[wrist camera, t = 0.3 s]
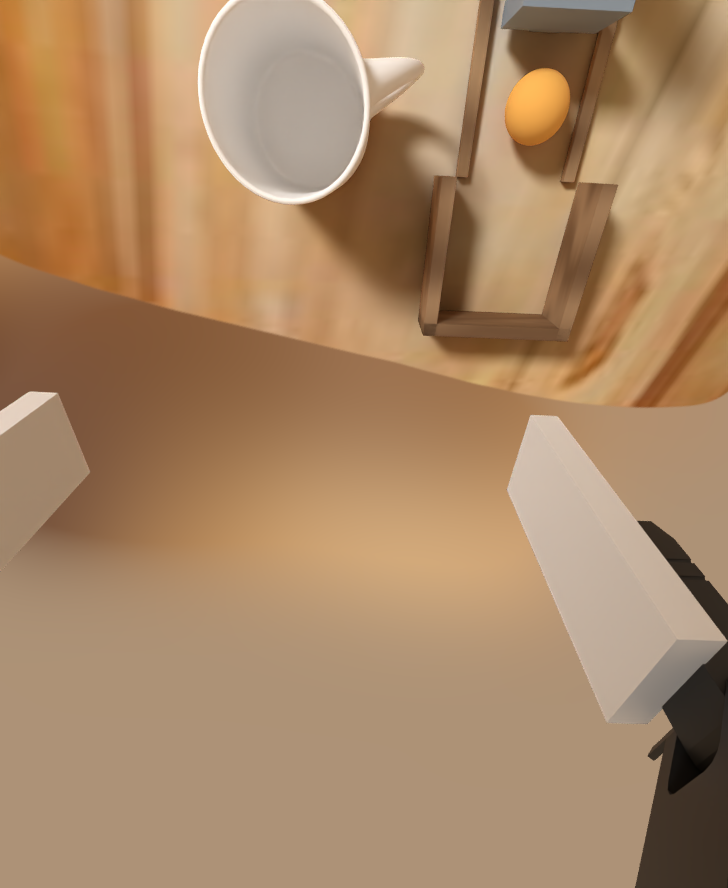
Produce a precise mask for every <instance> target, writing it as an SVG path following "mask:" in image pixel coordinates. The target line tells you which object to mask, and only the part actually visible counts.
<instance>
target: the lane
mask: <svg viewBox="0 0 728 888" xmlns="http://www.w3.org/2000/svg"><path fill="white" fill-rule="evenodd" d="M493 6H494V0H480V2H479V9H478V16H477V24H476V31H475V38H474V46H473V53H472V60H471V68H470V75H469V82H468V89H467V97H466V104H465V111H464V119H463V126H462V133H461V141H460V148H459V155H458V163H457V170H456V177H468V172H469V165H470V159H471V152H472V145H473V139H474V132H475V125H476V119H477V112H478V106H479V99H480V92H481V86H482V79H483V72H484V66H485V59H486V52H487V46H488V39H489V32H490V26H491V19H492V13H493ZM617 23H618V21H616V22H614V23H613V24H611V25H609V26H607V27H606V28H604V29H602V30H601V31H599V33H598V37H597V41H596V45H595V49H594V53H593V57H592V60H591V64H590V68H589V72H588V76H587V80H586V84H585V88H584V92H583V95H582V99H581V103H580V107H579V111H578V115H577V119H576V123H575V127H574V130H573V134H572V138H571V142H570V146H569V150H568V154H567V158H566V162H565V166H564V169H563V173H562V177H561V181H560V182H574V181H575V177H576V173H577V170H578V166H579V162H580V159H581V155H582V151H583V148H584V144H585V140H586V137H587V133H588V129H589V126H590V122H591V118H592V115H593V111H594V107H595V104H596V100H597V96H598V93H599V89H600V85H601V82H602V78H603V74H604V71H605V67H606V63H607V60H608V56H609V52H610V49H611V45H612V41H613V38H614V34H615V30H616V27H617Z"/></svg>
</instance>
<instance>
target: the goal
mask: <svg viewBox="0 0 728 888" xmlns="http://www.w3.org/2000/svg"><path fill="white" fill-rule="evenodd" d="M456 182H457V177H451V176H434V185H433V193H432V202H431V211H430V220H429V229H428V238H427V247H426V255H425V264H424V273H423V282H422V291H421V300H420V309H419V317H418V322H419V325H420V328H421V331H422V334H423V335H424V336H448V337H472V338H496V339H521V340H545V341H568V338H569V335H570V332H571V329H572V326H573V323H574V320H575V317H576V314H577V311H578V307H579V304H580V301H581V298H582V295H583V292H584V289H585V286H586V283H587V280H588V277H589V273H590V270H591V267H592V264H593V261H594V258H595V255H596V252H597V249H598V246H599V243H600V239H601V236H602V233H603V230H604V227H605V224H606V221H607V218H608V215H609V212H610V209H611V206H612V202H613V199H614V196H615V193H616V190H617V187H618V185H614V184H598V183H580V182H579V183H578V187H577V190H576V194H575V197H574V201H573V204H572V208H571V212H570V215H569V219H568V222H567V226H566V230H565V233H564V237H563V240H562V244H561V248H560V251H559V255H558V258H557V262H556V266H555V269H554V273H553V276H552V280H551V284H550V287H549V291H548V294H547V298H546V302H545V305H544V309H543V312H542V315H540V314H517V313H493V312H469V311H446V310H439V305H440V298H441V291H442V283H443V276H444V269H445V262H446V254H447V247H448V240H449V233H450V226H451V218H452V211H453V204H454V197H455V190H456Z"/></svg>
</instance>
